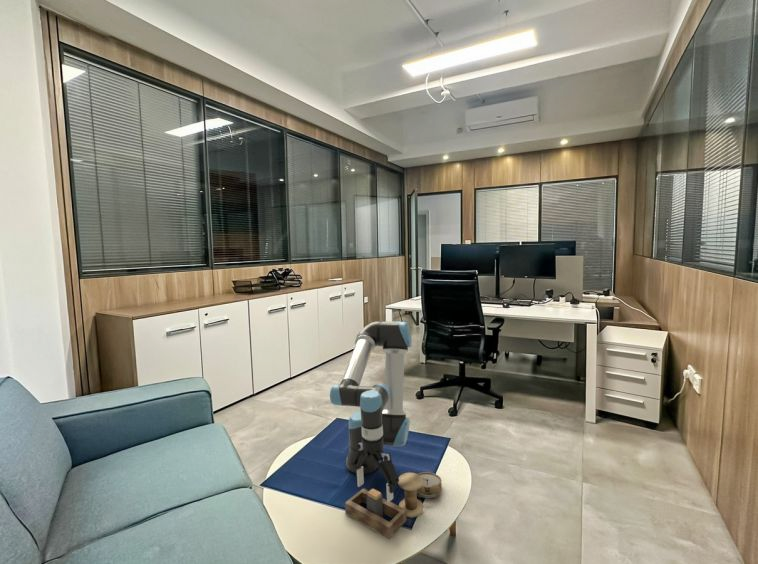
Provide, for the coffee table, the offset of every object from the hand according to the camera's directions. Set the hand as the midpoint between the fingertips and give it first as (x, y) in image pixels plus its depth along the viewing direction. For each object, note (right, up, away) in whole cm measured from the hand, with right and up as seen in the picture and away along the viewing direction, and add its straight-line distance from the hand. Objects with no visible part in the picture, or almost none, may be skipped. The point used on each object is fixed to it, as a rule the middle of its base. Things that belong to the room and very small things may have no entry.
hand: (375, 492), depth 129 cm
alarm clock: (+21, -8, +14) cm, 26 cm away
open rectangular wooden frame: (0, -9, 0) cm, 9 cm away
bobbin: (+13, -8, +4) cm, 16 cm away
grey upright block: (0, -9, 0) cm, 9 cm away
